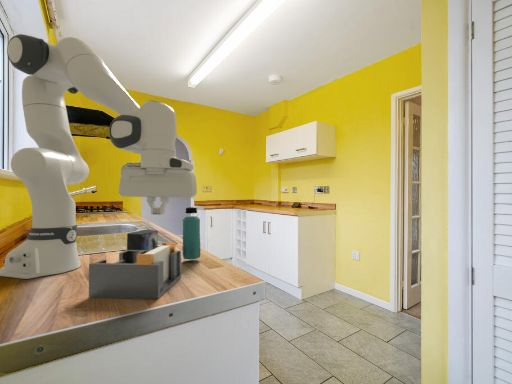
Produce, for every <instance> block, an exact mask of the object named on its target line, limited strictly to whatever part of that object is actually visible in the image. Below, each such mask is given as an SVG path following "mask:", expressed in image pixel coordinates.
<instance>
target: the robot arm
mask: <svg viewBox="0 0 512 384" xmlns="http://www.w3.org/2000/svg"><path fill="white" fill-rule="evenodd" d="M6 53H7V58H8V61H9V62H10V63H11V64H10V65H12V67H14V68H15V69H16V70H18V71H20V72H22V73H24V74H26V75H28V76H26V77H25V78H24V79H23V81H22V86H21V102H22V111H23V117H24V122H25V129H26V132H27V134H28V136H29V137H30V139H32V140H33V141H34V142H35V144H36V145H37V146H38V147H24V148H21V149H19V150H17V151H16V152H15V153H14V154H13V155H12V157H11V160H10V168H11V171H12V173H13V174H14V176H16V177H17V178H18V179H19V180H20V181H21V182H22V183H23V184H24V187H25V188H26V190H27V193H28V195H29V198H30V203H31V216H32V217H31V218H32V219H31V220H32V221H31V222H32V224H31V225H32V226H31V228H30V229H26V230H24V233H23V235H27V236H26V238H25V239H26V240H24V241H23V242H22V243H20V244H18V246H16V247H15V248H14V249H12V250H10V251H9V252H8V253H7V254H6V256H5V260H4V267H1V268H0V277H6V278H15V279H24V280H28V279H29V280H30V279H34V278H38V277H44V276H50V275H58V274H62V273H66V272H70V271H73V270H76V269H79V268H80V267H82V263H81V260H80V256H79V252H78V246H77V236H78V225H77V224H76V223H77V222H76V221H77V219H76V215H77V214H76V213H77V211H76V207H77V205H76V201H75V199H74V198H72V197H71V195H70V193H69V190H68V187H67V186H73V185H77V184H80V183H83V182H84V181H85V180H86V179H87V178H88V177H89V174H90V168H89V165H88V163H87V162H86V161H85V160H84V159H83V157H82V156H81V153H80V152H79V149H78V148H77V145H76V143H75V141H74V138H73V136H72V132H71V128H70V122H69V117H68V111H67V107H66V101H65V94H66V92H67V91H68V92H69V93H70V94H77V93H78V92H79V93H81V95H82V96H84V97H85V98H87V99H89V100H91V101H93V102H95V103H96V104H99V105H101V106H104V107H106V108H107V109H110V110H111V111H113V112H115V113H116V114H118V116H116V117H115V118H114V119H113V120H112V121H111V122H110V125H109V129H108V135H109V139H110V142H111V143H112V145H113V146H114V147H115V148H117V149H119V150H122V151H125V152H131V153H133V154H139V155H140V162H126V163H125V164H124V165H122V166H121V167H120V180H119V184H118V194H119V195H120V196H121V197H127V198H128V197H129V198H130V197H131V198H133V197H134V198H135V197H137V198H143V197H144V198H146V202H147V203H148V206H149V208H150V215H161V216H162V215H165V209H166V207H167V205H168V203H169V202H170V198H184V199H185V198H186V199H189V198H193V199H194V198H195V197H196V196H197V194H198V193H197V192H198V191H197V189H198V188H197V185H198V184H197V178H196V175H195V173H194V171H193V170H194V164H193V163H192V162H190V161H188V160H185V159H183V158H180V157H177V150H176V141H177V131H178V129H177V117H176V111H175V110H174V109H173V107H171V106H170V105H167V104H166V103H164V102H161V101H156V100H146V101H145V102H144V103H143V104H142V105H141V107H140V105H139V104H138V103H137V102H136V100H135V99H134V98H133V97H132V96H131V95H130V94H129V93H128V92H127V90H126V89H125V88H124V86H123V85H122V84H121V83H120V82H119V81H118V79H117V78H116V77H115V75H114V74H113V73H112V71H111V70H110V69H109V67H108V66H107V65H106V63H105V62H104V60H103V59H102V58H101V57H100V56H99V55H98V53H96V52H95V50H94V49H93V48H91V46H90V45H89V44H87V43H86V42H85V41H83V40H81V39H80V38H76V37H68V36H67V37H63V38H61V40H59V41H58V42H57V44H56V45H54V44H52V43H50V42H47V41H45V40H44V38H39V37H35V36H31V35H28V34H16V35H14V36H12V37H11V38H9V41H8V43H7V48H6ZM157 198H160V202H161V204H160V206H159V207H157V206H156V204H155V202H156V200H157Z"/></svg>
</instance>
